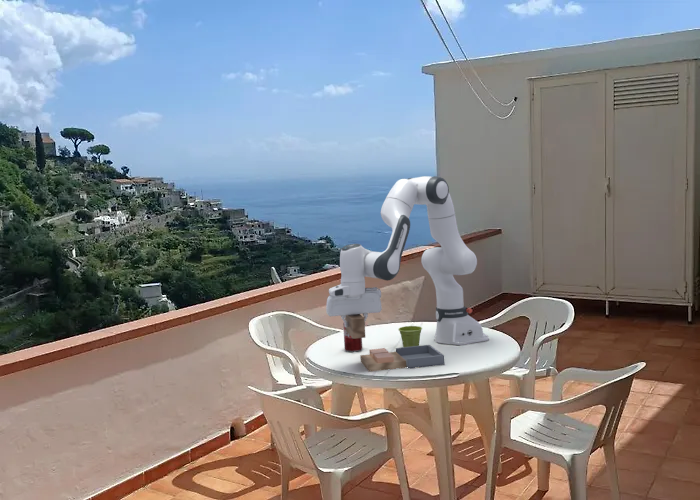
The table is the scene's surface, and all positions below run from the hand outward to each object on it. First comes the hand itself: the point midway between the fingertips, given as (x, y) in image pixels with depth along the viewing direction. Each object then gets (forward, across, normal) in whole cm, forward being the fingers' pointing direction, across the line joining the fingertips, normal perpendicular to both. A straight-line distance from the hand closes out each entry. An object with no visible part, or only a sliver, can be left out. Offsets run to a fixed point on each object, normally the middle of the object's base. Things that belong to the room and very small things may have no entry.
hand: (354, 326), depth 238 cm
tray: (+15, -24, 0) cm, 29 cm away
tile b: (+13, -10, +4) cm, 16 cm away
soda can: (+16, -4, -25) cm, 30 cm away
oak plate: (+15, -10, 0) cm, 18 cm away
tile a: (+13, -10, -4) cm, 16 cm away
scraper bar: (+3, 0, 0) cm, 3 cm away
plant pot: (+15, -26, -17) cm, 35 cm away
